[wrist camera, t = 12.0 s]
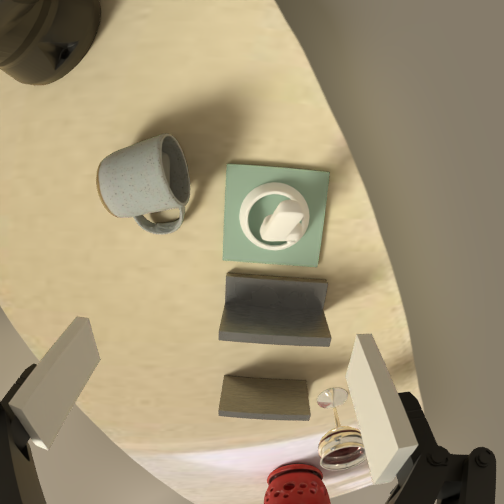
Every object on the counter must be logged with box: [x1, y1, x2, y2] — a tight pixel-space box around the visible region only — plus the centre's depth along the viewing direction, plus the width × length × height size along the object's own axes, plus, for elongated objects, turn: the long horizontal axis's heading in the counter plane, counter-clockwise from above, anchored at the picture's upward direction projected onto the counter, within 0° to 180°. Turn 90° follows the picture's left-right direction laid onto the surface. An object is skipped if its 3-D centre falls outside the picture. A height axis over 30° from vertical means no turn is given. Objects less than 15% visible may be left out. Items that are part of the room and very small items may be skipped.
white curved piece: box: [239, 182, 310, 250], centre depth 31 cm, size 8×12×7 cm
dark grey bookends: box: [219, 273, 331, 421], centre depth 38 cm, size 21×12×7 cm, turn 176°
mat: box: [223, 164, 330, 267], centre depth 35 cm, size 11×11×1 cm
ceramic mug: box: [96, 133, 190, 234], centre depth 31 cm, size 11×8×8 cm
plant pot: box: [264, 464, 330, 504], centre depth 48 cm, size 13×13×12 cm
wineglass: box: [317, 388, 367, 470], centre depth 39 cm, size 7×7×12 cm
